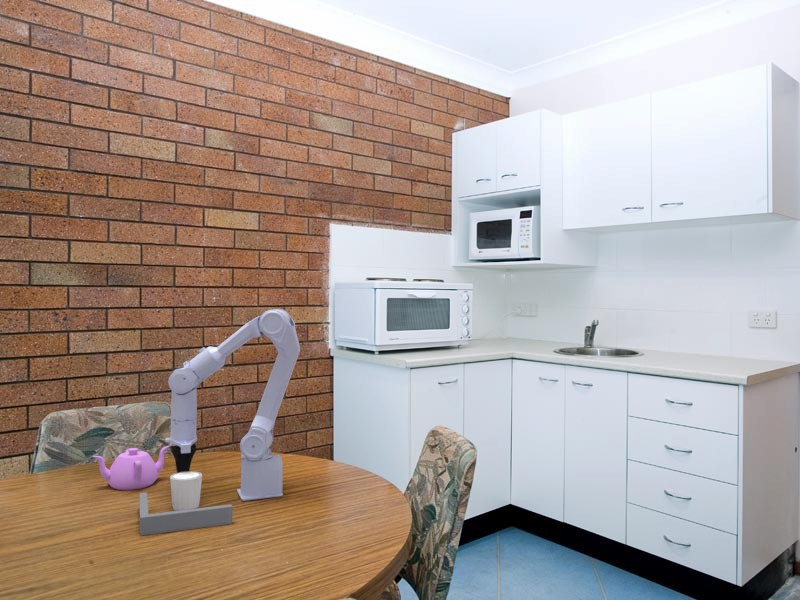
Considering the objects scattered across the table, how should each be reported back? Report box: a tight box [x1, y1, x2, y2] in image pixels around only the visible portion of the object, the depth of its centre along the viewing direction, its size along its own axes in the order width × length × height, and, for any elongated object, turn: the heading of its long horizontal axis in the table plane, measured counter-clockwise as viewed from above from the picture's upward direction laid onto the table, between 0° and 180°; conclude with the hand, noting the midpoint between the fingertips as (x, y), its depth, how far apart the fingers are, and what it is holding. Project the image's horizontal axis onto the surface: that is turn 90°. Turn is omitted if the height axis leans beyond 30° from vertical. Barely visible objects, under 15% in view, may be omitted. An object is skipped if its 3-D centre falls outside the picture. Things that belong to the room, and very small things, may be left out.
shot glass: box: [169, 470, 203, 511], centre depth 136 cm, size 7×7×7 cm
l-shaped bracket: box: [138, 492, 234, 537], centre depth 130 cm, size 18×16×4 cm
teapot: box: [92, 444, 171, 491], centre depth 151 cm, size 12×14×9 cm
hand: (182, 476), depth 143 cm, fingers closed
